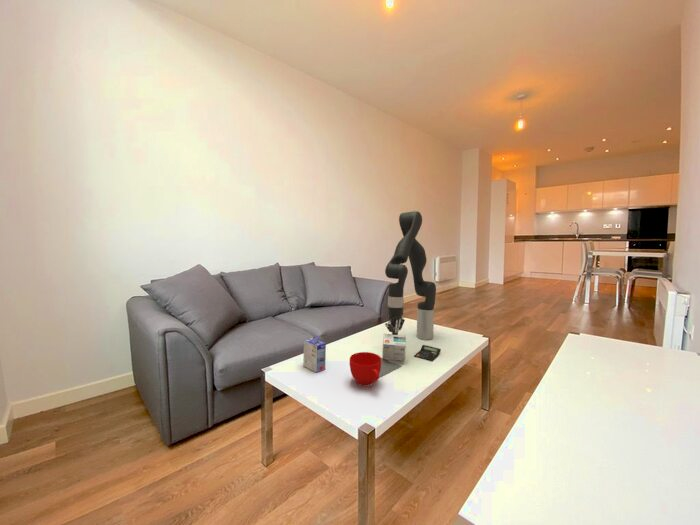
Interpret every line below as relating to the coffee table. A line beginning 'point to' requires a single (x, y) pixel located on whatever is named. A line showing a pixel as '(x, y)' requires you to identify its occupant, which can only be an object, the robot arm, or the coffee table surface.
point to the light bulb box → (394, 347)
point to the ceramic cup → (365, 367)
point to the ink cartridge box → (314, 354)
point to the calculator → (428, 353)
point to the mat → (387, 367)
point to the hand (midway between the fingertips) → (394, 339)
